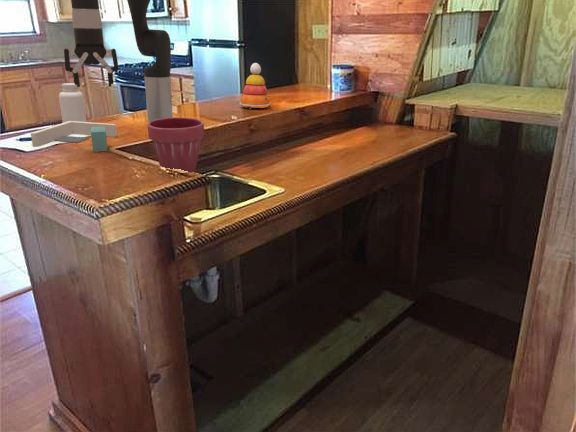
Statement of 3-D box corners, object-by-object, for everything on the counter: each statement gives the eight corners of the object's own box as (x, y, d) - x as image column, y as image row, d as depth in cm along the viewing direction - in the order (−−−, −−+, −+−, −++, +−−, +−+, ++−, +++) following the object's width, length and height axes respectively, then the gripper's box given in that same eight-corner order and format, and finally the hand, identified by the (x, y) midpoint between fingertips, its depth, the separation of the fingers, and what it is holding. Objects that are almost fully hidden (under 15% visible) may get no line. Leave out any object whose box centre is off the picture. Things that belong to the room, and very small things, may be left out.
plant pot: (163, 181, 125) (160, 130, 120) (142, 167, 136) (138, 120, 131) (214, 172, 133) (213, 124, 128) (191, 160, 144) (189, 115, 139)
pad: (65, 136, 166) (65, 135, 166) (89, 138, 164) (88, 137, 164) (53, 140, 160) (53, 140, 160) (77, 142, 159) (77, 142, 159)
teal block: (93, 146, 155) (91, 127, 153) (107, 146, 156) (105, 126, 154) (93, 152, 149) (90, 132, 147) (107, 151, 150) (105, 131, 148)
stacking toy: (265, 111, 219) (265, 65, 212) (234, 109, 223) (234, 63, 216) (274, 106, 232) (275, 62, 225) (245, 104, 236) (245, 61, 228)
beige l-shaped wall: (71, 132, 171) (69, 120, 170) (117, 135, 169) (115, 124, 167) (32, 146, 153) (30, 133, 152) (83, 150, 150) (81, 137, 149)
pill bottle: (86, 123, 185) (81, 82, 180) (87, 128, 178) (81, 85, 173) (63, 124, 182) (57, 82, 177) (62, 129, 176) (56, 85, 170)
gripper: (114, 26, 145) (119, 84, 151) (60, 25, 140) (68, 85, 147) (114, 27, 138) (120, 87, 144) (58, 26, 134) (67, 88, 140)
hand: (94, 86), depth 145 cm, fingers open, 8 cm apart
